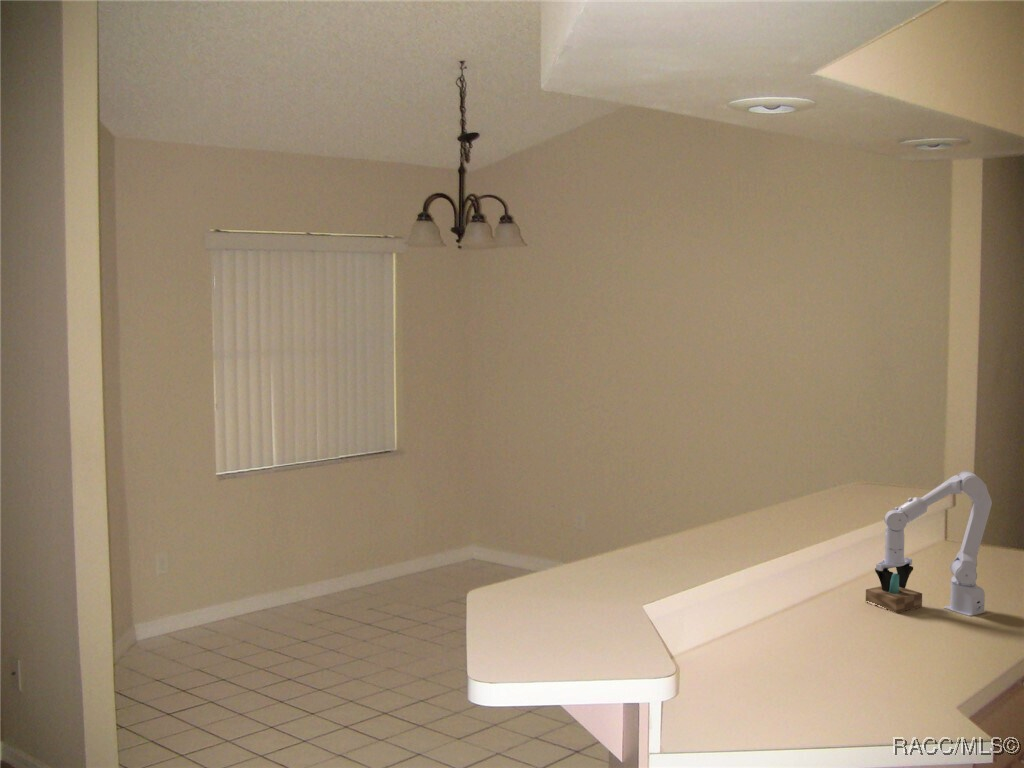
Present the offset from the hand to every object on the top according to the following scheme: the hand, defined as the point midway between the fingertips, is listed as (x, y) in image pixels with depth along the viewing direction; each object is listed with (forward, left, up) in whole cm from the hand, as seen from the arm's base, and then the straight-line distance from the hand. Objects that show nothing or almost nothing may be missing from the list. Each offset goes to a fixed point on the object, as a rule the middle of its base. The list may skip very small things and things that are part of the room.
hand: (893, 589), depth 304 cm
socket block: (0, 0, -5) cm, 5 cm away
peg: (0, 0, -4) cm, 4 cm away
